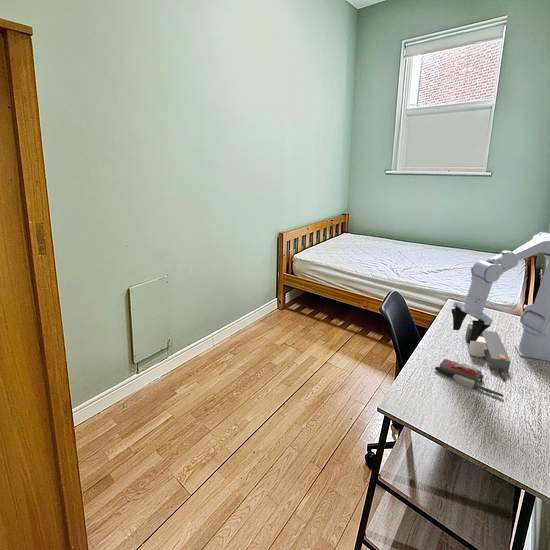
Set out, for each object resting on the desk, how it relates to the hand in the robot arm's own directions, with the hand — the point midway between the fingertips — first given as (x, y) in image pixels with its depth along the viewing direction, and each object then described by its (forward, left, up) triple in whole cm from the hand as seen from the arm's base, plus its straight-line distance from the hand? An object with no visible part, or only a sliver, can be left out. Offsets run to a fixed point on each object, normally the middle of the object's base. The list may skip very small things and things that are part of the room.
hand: (464, 335), depth 120 cm
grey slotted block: (-10, -8, -11) cm, 16 cm away
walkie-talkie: (-2, +10, -11) cm, 15 cm away
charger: (-8, -9, -10) cm, 16 cm away
